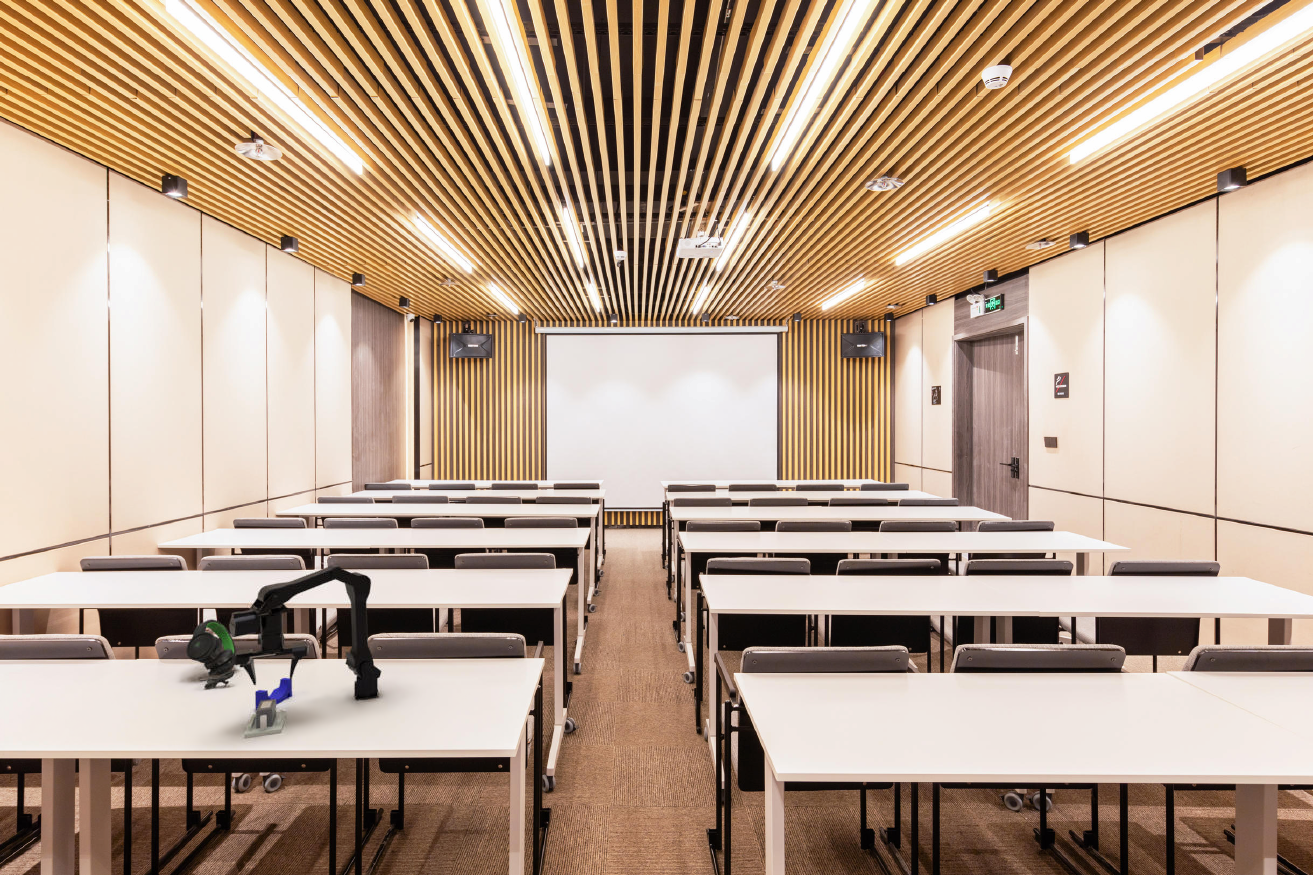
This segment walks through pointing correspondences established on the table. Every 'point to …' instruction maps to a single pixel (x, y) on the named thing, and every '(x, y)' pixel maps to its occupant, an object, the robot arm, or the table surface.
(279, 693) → the cable clip
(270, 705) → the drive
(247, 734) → the pegged rail plate
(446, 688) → the table surface
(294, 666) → the robot arm
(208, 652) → the headset
